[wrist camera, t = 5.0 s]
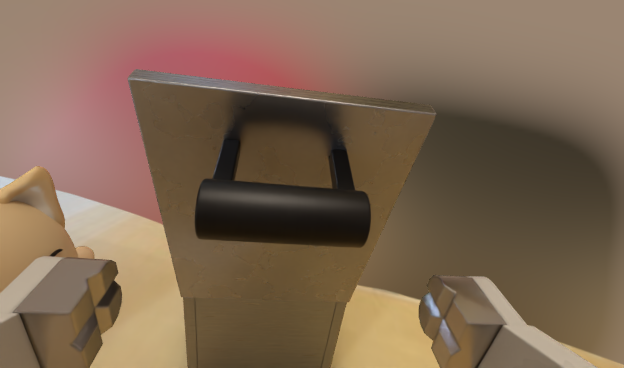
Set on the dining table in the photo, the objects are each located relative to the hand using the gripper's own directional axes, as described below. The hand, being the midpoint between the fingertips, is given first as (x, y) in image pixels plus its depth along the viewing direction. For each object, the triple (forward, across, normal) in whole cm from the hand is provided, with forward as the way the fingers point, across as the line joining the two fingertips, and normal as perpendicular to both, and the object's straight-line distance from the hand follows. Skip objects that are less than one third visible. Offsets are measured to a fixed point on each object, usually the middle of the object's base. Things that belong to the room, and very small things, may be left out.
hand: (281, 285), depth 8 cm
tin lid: (+9, 0, +4) cm, 9 cm away
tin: (+17, 0, +20) cm, 27 cm away
